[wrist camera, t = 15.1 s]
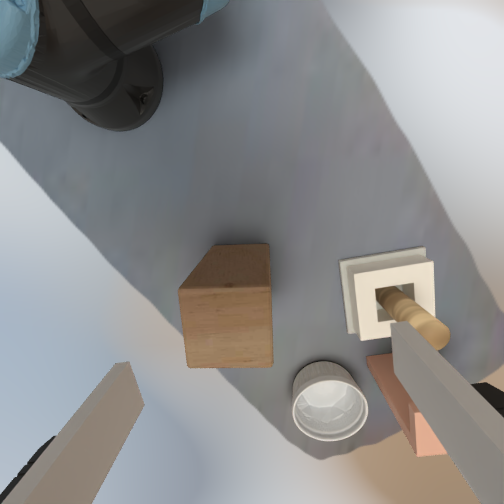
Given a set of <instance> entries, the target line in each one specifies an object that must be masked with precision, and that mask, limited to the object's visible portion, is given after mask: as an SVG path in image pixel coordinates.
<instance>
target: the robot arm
mask: <svg viewBox="0 0 504 504" xmlns="http://www.w3.org/2000/svg"><path fill="white" fill-rule="evenodd" d="M228 2H229V0H0V77H1V78H6V79H8V80H11V81H14V82H16V83H19V84H22V85H24V86H27V87H30V88H33V89H35V90H38V91H41V92H43V93H46V94H49V95H51V96H54V97H57V98H59V99H62V100H64V101H65V102H66V103H67V104H68V105H69V106H71V107H72V108H73V109H74V110H75V111H76V112H77V113H78V114H79V115H80V116H81V117H82V118H84V119H85V120H87V121H88V122H90V123H92V124H94V125H96V126H99V127H102V128H105V129H108V130H113V131H127V130H131V129H134V128H137V127H139V126H141V125H142V124H144V123H145V122H146V121H147V120H148V119H149V118H150V117H151V116H152V115H153V113H154V112H155V110H156V109H157V107H158V104H159V102H160V99H161V95H162V89H163V74H162V68H161V64H160V61H159V58H158V55H157V53H156V51H155V49H154V48H153V46H152V44H153V43H155V42H157V41H159V40H161V39H163V38H165V37H168V36H170V35H172V34H174V33H176V32H178V31H180V30H182V29H184V28H187V27H189V26H191V25H193V24H196V25H198V24H200V23H201V22H202V21H204V19H205V18H206V17H208V16H210V15H211V14H213V13H215V12H217V11H219V10H220V9H222V8H224V7H225V6H226V5H227V4H228ZM390 328H391V340H392V353H393V365H394V373H395V375H396V376H397V378H398V379H399V381H400V382H401V384H402V385H403V387H404V388H405V390H406V391H407V393H408V394H409V396H410V397H411V399H412V400H413V402H414V403H415V405H416V406H417V408H418V409H419V411H420V412H421V414H422V415H423V417H424V418H425V420H426V421H427V423H428V424H429V426H430V427H431V429H432V430H433V432H434V433H435V435H436V436H437V438H438V439H439V441H440V442H441V444H442V445H443V447H444V449H445V450H446V452H447V453H448V455H449V456H450V457H451V459H452V461H453V462H454V464H455V465H456V467H457V468H458V469H459V471H460V473H461V474H462V476H463V477H464V479H465V480H466V482H467V483H468V485H469V486H470V488H471V489H472V491H473V492H474V494H475V495H476V496H477V498H478V500H479V501H480V503H481V504H504V392H503V391H501V390H499V389H497V388H495V387H494V386H492V385H490V384H488V383H486V382H485V383H476V384H469V383H468V382H467V381H466V380H465V379H464V378H463V377H462V376H461V375H460V374H459V373H458V372H457V371H456V369H455V368H454V367H453V366H452V365H451V364H450V363H449V362H448V361H447V360H446V359H445V358H444V357H443V356H442V355H441V354H440V353H439V352H438V351H437V350H436V349H435V348H434V347H433V346H432V345H431V344H430V343H429V342H428V341H427V340H426V339H425V338H424V337H423V336H422V335H421V334H420V333H419V332H418V331H417V330H416V329H415V328H414V327H413V326H412V325H411V324H410V323H409V322H408V321H402V322H395V323H390ZM143 407H144V402H143V399H142V396H141V393H140V390H139V388H138V385H137V382H136V379H135V376H134V373H133V371H132V368H131V365H130V362H123V363H115V365H114V366H113V367H112V368H111V370H110V371H109V372H108V373H107V374H106V376H105V377H104V378H103V379H102V381H101V382H100V383H99V384H98V386H97V387H96V388H95V389H94V391H93V392H92V393H91V394H90V395H89V397H88V398H87V399H86V400H85V402H84V403H83V404H82V405H81V407H80V408H79V409H78V410H77V411H76V413H75V414H74V415H73V416H72V418H71V419H70V420H69V421H68V422H67V424H66V425H65V426H64V427H63V429H62V430H61V431H60V432H59V433H58V435H57V436H53V437H52V438H51V439H50V440H48V441H47V442H46V443H45V444H44V445H43V446H41V447H40V448H39V449H38V450H37V452H36V453H35V454H34V455H33V456H32V458H31V459H30V460H29V461H28V463H27V465H25V466H24V467H23V468H22V469H21V471H20V472H19V473H18V475H17V477H15V478H14V479H13V480H12V481H11V482H10V484H9V485H8V486H7V487H6V489H5V490H4V491H3V492H2V493H1V494H0V504H92V502H93V500H94V498H95V497H96V495H97V493H98V491H99V489H100V487H101V485H102V483H103V482H104V480H105V478H106V476H107V474H108V472H109V471H110V468H111V467H112V465H113V463H114V461H115V459H116V457H117V456H118V454H119V452H120V450H121V448H122V446H123V444H124V443H125V441H126V439H127V437H128V435H129V433H130V431H131V429H132V428H133V426H134V424H135V422H136V420H137V418H138V416H139V415H140V413H141V411H142V409H143Z"/></svg>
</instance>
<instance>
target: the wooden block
mask: <svg viewBox="0 0 504 504" xmlns="http://www.w3.org/2000/svg"><path fill="white" fill-rule="evenodd" d="M178 296H179V304H180V312H181V320H182V328H183V336H184V344H185V352H186V360H187V366H188V367H189V368H268V367H272V365H273V363H274V362H273V330H272V298H271V274H270V254H269V245H268V244H240V245H214V246H212V247H211V249H210V250H209V251H208V252H207V254H206V255H205V256H204V257H203V259H202V260H201V261H200V262H199V264H198V265H197V266H196V267H195V269H194V270H193V271H192V272H191V274H190V275H189V276H188V277H187V279H186V280H185V281H184V282H183V284H182V285H181V286H180V287H179V289H178Z"/></svg>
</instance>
